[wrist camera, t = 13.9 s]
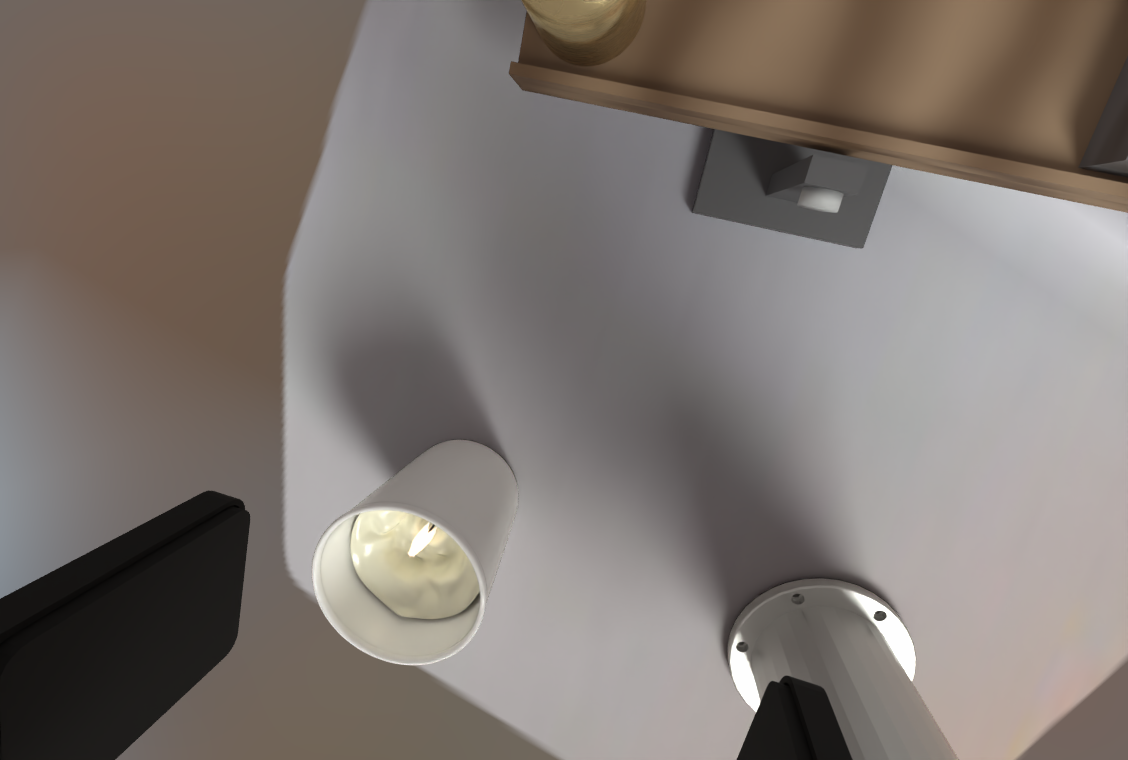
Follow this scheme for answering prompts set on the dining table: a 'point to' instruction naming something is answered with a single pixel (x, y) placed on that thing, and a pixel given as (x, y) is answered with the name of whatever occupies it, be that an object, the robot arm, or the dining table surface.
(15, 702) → the robot arm
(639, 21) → the brass weight
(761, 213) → the beam stand
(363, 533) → the candle holder
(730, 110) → the balance beam
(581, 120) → the dining table surface
